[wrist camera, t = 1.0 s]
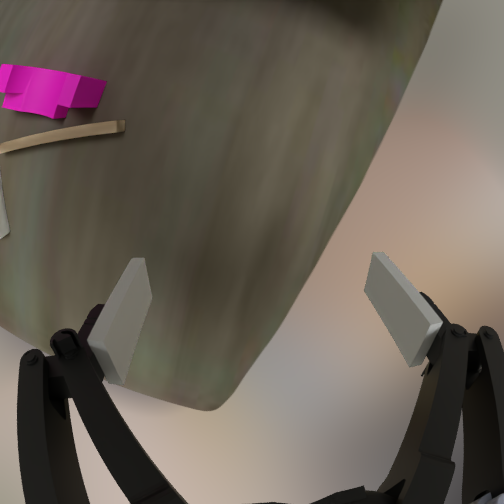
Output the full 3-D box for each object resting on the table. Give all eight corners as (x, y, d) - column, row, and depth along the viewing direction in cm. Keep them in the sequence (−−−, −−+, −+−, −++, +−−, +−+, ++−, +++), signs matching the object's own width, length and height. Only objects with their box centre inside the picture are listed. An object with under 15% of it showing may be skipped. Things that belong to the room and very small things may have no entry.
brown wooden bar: (8, 141, 29) (-4, 144, 26) (125, 119, 31) (116, 120, 28) (8, 150, 30) (-3, 154, 27) (125, 131, 32) (116, 132, 29)
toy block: (20, 105, 27) (-11, 108, 21) (32, 66, 25) (2, 63, 18) (91, 125, 31) (63, 128, 24) (107, 81, 29) (81, 76, 22)
